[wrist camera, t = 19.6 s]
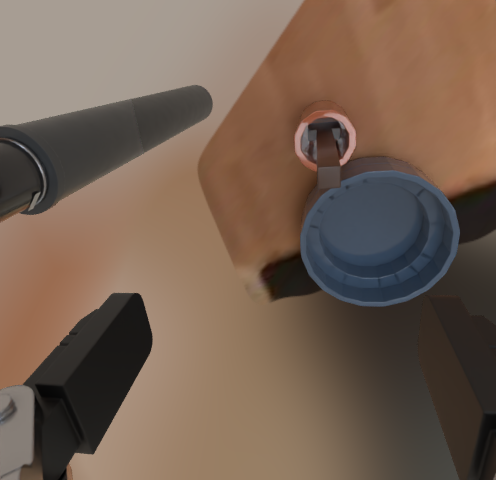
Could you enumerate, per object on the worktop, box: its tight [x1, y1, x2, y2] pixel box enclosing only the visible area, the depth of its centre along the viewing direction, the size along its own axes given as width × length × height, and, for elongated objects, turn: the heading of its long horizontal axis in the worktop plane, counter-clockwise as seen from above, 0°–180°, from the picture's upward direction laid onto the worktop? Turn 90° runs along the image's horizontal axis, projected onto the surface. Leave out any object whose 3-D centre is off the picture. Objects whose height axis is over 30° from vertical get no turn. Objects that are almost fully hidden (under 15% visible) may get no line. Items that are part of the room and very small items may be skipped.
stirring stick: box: [308, 121, 341, 189], centre depth 30 cm, size 3×1×18 cm, turn 96°
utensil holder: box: [294, 100, 356, 172], centre depth 35 cm, size 5×5×8 cm
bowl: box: [300, 157, 460, 306], centre depth 40 cm, size 15×15×6 cm
